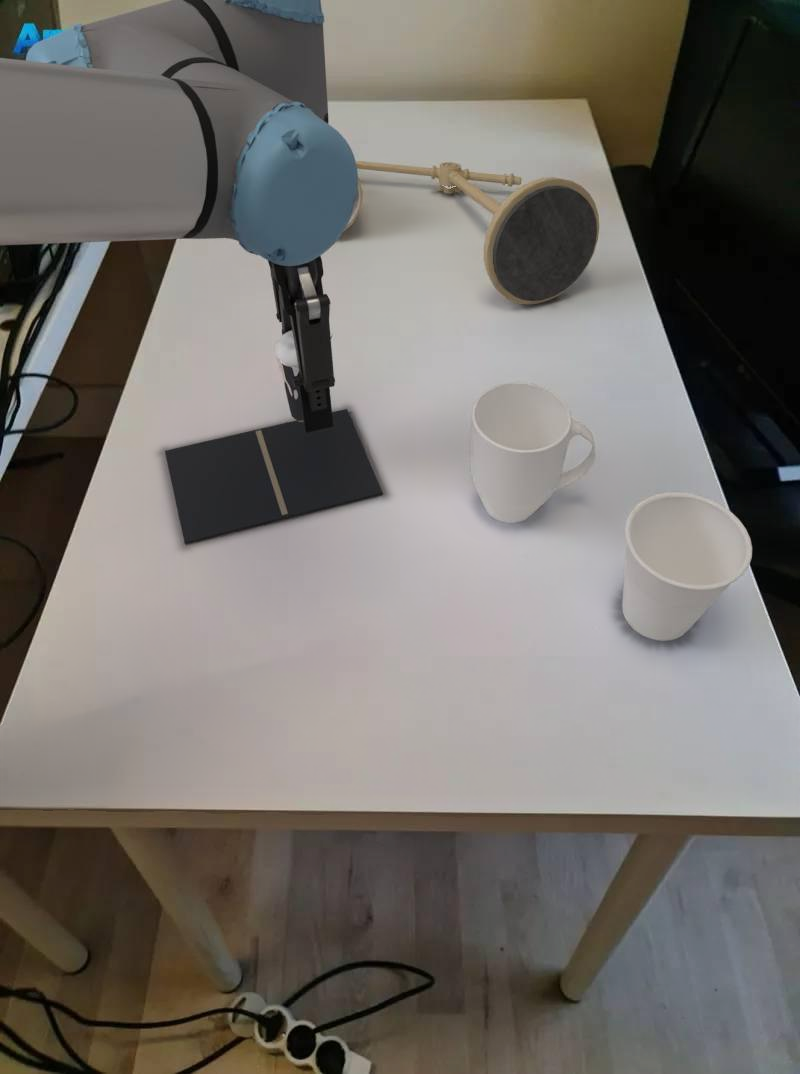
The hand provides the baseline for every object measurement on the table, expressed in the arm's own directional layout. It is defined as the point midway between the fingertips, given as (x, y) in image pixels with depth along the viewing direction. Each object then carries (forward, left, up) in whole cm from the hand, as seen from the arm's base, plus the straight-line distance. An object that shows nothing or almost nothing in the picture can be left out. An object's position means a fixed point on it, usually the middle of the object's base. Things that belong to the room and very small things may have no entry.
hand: (312, 410), depth 81 cm
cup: (+24, -28, -7) cm, 38 cm away
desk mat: (-5, 0, -7) cm, 9 cm away
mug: (+18, -12, -7) cm, 23 cm away
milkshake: (0, 0, 0) cm, 0 cm away
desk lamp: (+24, +37, -7) cm, 45 cm away
